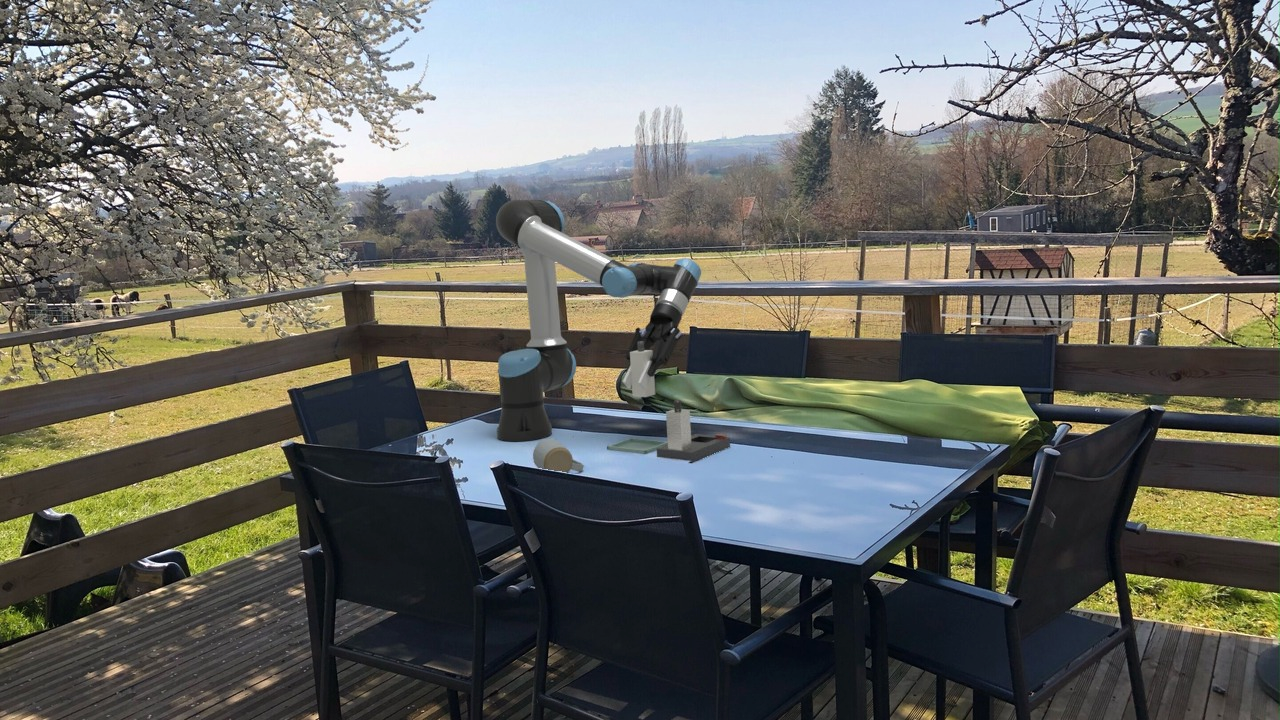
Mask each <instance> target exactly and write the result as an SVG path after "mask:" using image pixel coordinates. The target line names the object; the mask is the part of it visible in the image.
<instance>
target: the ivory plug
mask: <svg viewBox="0 0 1280 720" xmlns="http://www.w3.org/2000/svg"><path fill="white" fill-rule="evenodd" d="M637 345H638V350H637V351H633V352H630V363H631V376H632V386H631V390H632V392H631V393H632V397H637V398H647V397H651V396H654V395H656V387H655V386H656V383H655V375H654V376H653V377H651V379H650V381H649V383H648V385H647V387H646V389H643V388H642V387H641V386H640V385H639V383H638V381H639V379H640V377H641V375H642V373H643V371H644V369H645V366H646V364H647V362H648V361H651V359H650V358H652V356H653V352H654V349H653V350H652V349H649V350H644V341H638V342H637ZM651 362H652V361H651Z"/></svg>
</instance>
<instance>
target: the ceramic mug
mask: <svg viewBox="0 0 1280 720" xmlns="http://www.w3.org/2000/svg"><path fill="white" fill-rule="evenodd" d="M532 459H533V463H534V465H535V466H536V467H537V469H539V468H542V469H548V470H554V471H562V472H567V474H568V473H569V472H570V471H571V470H572V471H576V472H582V471H583V469H584V466H585V465H584V464H583V463H581V462H580V461H578V460H575V459H573V455H572V453H571V451H570V450H569V449H568V448H567V447H565V445H563V444H562V443H561V442H560V441H559V440H557V439H555V438H545V439H542V440H540V441H539V442H537V444H536V446H535V447H534V449H533V452H532Z"/></svg>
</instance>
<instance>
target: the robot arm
mask: <svg viewBox="0 0 1280 720" xmlns="http://www.w3.org/2000/svg"><path fill="white" fill-rule="evenodd" d="M495 225H496V229H497V232H498V233H499V235H500V236H501V237H502V238H503V239H505V240H506V241H507V242H509V243H511V244H513V245H515V246H517V250H518V251H519V252H520V253H521V254H522V255H523V259H524V260H523V261H524V262H523V263H524V269H525V270H524V271H525V283H526V285H525V286H526V292H527V293H526V295H527V307H528V316H529V328H530V329H529V330H530V340H529V341H528V342H527V344H526V348H523V349H520V348H519V349H517V350H511V351H508V352H506V353H504V354H501V356H500V357H499V358H498V362H497V363H498V364H497V366H498V368H497V373H498V382H499V383H498V384H499V394H500V405H501V412H500V415H499V420H498V427H497V428H496V436H497V437H496V438H497V439H498V440H501V441H505V442H506V441H507V442H524V441H526V442H527V441H534V440H538V439H539V440H541V439H543V438H546V437H549V436H551V435H552V434H553V428H552V423H551V422H550V420H549V416H548V413H547V411H546V408H545V403H544V393H545V392H549V391H552V390H558V389H560V388H562V387H564V386H566V385H568V384H569V383H570V382H571V381H572V380H573V379H574V377H575V374H576V370H577V361H576V358H575V355H574V354H573V353H572V352H571V350H570V349H569V348H568V343H567V340H565V338H563V336H562V332H561V321H560V320H561V318H560V308H559V307H560V306H559V300H558V299H559V296H558V285H557V272H556V263H557V264H559V265H561V266H563V267H564V268H566V269H568V270H570V271H573V272H574V273H576V274H578V275H580V276H582V277H584V278H585V279H588V280H590V281H592V282H593V283H594V284H595V283H596V284H597V285H599V286H601V287H602V288H603V290H604V291H605V293H606V294H607V295H608V296H609V297H612V298H620V299H621V298H626V297H627V298H628V297H631V296H635V295H644V294H656V295H659V297H658V299H657V301H656V303H655V306H654V307H653V310H652V311H651V313H650V316H649V322H648V323H647V325H646V326H645V327H643V328H640V327H636V328H635V332H634V336H633V339H632V341H631V342H630V345H629V348H628V350H627V352H626V354H625V356H624V358H625V359H626V360H627V362H628V366H627V368H626V370H625V372H626V374H625V375H624V378H623V379H622V384H624V386H625V387H626V389H632V376H631V363H630V352H633V351H637V350H638V345H637V342H638V341H644V350H651V347H653V346H654V345H655V346H654V349H653V356H652V358H650V359H651V361H652V362H651V361H648V362H647V364H646V366H645V369H644V371H643V373H642V375H641V377H640V379H639V381H638V383H639V385H640V386H641V387H642V388H643V389H646V387H647V385H648V383H649V381H650V379H651V377H653V376H654V377H655V374H656V372H657V370H658V368H659V367H660V366H661V365H662V366H666V365H667V364H668V362H669V360H670V358H671V356H672V354H673V352H674V350H675V348H676V347H677V346H676V345H677V344H678V343H679V340H681V338H682V337H683V335H684V334H683V333H682V332H681V330H680V328H678V327H679V326H680V323H681V320H682V318H683V316H684V314H685V311H686V309H687V308H688V305H689V303H690V300H691V297H692V296H693V294H694V292H695V290H696V288H697V287H698V285H699V280H700V277H701V275H702V269H701V267H700V265H699V264H698V263H697V262H696V261H694V260H692V259H690V258H685V257H682V258H680V259H677V260H676V261H675V263H674V265H673V266H670V265H668V266H667V265H657V264H650V263H649V264H648V263H643V262H639V263H638V262H633V263H630V264H629V265H626V264H624V263H622V262H620V261H618V260H616V259H614V258H612V257H610V256H608V255H606V254H605V253H602V252H601V251H599V250H597V249H595V248H593V247H590V246H589V245H587V244H585V243H582V242H580V241H579V240H577V239H576V238H573V237H571V236H569V235H567V234H565V233H564V231H565V218H564V213H562V210H561V209H560V208H559V207H558V206H557V205H556V204H555V203H553V202H551V201H549V200H543V199H511V200H509V201H507V202H505V203H504V204H503V205H502V206H501V207H500V208H499V209H498V212H497V213H496V218H495Z"/></svg>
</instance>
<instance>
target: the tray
mask: <svg viewBox="0 0 1280 720" xmlns="http://www.w3.org/2000/svg"><path fill="white" fill-rule="evenodd" d="M665 445H668V441H665V440H664V441H663V440H656V439H655V440H654V439H653V440H652V439H644V438H635V437H634V438H633V437H630V438H626V439H624V440H621V441H618V442H616V443H612V444H609V445H607V446H606V450H608V451H615V452H624V453H632V454H640V455H641V454H642V455H647V454H650V453H653V452H657V448H660V447H662V446H665Z"/></svg>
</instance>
